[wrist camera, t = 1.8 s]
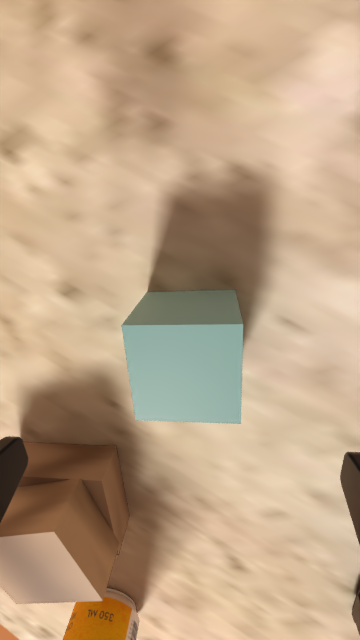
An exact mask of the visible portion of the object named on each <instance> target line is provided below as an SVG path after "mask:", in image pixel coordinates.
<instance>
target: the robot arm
mask: <svg viewBox="0 0 360 640" xmlns="http://www.w3.org/2000/svg"><path fill="white" fill-rule="evenodd" d="M28 460H29V459H28V454H27V451H26V448H25V445H24V442H23V440H22V439H21V438H20V437H10V436H8V437H5V438H3V439H1V440H0V523H1V521H2V519H3V517H4V515H5V513H6V511H7V509H8V507H9V504H10V502H11V500H12V498H13V496H14V494H15V491H16V489H17V487H18V485H19V483H20V481H21V479H22V476H23V474H24V472H25V470H26V468H27V465H28ZM340 479H341V485H342V488H343V492H344V495H345V498H346V501H347V505H348V508H349V511H350V515H351V518H352V521H353V525H354V528H355V531H356V535H357V538H358V541H359V544H360V452H347V453H346V454H345V455H344V460H343V465H342V470H341V475H340ZM352 616H353V620H354V622H355V623H356V625H357V628H358V631H359V634H360V588H359V592H358V595H357V597H356V601H355V604H354V607H353V611H352Z"/></svg>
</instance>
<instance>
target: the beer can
mask: <svg viewBox="0 0 360 640" xmlns="http://www.w3.org/2000/svg"><path fill="white" fill-rule="evenodd" d="M138 626H139V617H138V614H137V612H136V606H135V603H134V601H133V600H132V599H131V598H130V597H129V596H127V595H126V594H124V593H122V592H120V591H118V590H115V589H111V588H106V592H105V595H104V599H103V601H87V602H76V604H75V606H74V609H73V612H72V615H71V618H70V621H69V623H68V626H67V629H66V632H65V635H64V638H63V640H136V636H137V631H138Z"/></svg>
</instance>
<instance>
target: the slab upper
mask: <svg viewBox="0 0 360 640" xmlns="http://www.w3.org/2000/svg"><path fill="white" fill-rule="evenodd" d="M118 546H119V541H118V539H117V538H116V536H115V534H114V533H113V531H112V529H111V528H110V526H109V524H108V523H107V521H106V519H105V518H104V516H103V514H102V513H101V511H100V509H99V508H98V506H97V504H96V503H95V501H94V500H93V498H92V496H91V495H90V493H89V491H88V490H87V488H86V486H85V485H84V483H83V481H82V480H81V478H77V479H70V480H63V481H57V482H50V483H43V484H36V485H30V486H23V487H17V489H16V491H15V494H14V496H13V498H12V500H11V502H10V504H9V507H8V509H7V511H6V513H5V515H4V517H3V519H2V521H1V523H0V586H1V587H2V589H3V590H4V591H5V592H6V593H7V594H8V595H9V596H10V598H11V599H12V600H13V601H14V602H15V603H16V604H31V603H59V602H87V601H103V599H104V595H105V592H106V588H107V585H108V581H109V578H110V574H111V571H112V567H113V564H114V560H115V557H116V553H117V550H118Z"/></svg>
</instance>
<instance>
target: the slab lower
mask: <svg viewBox="0 0 360 640" xmlns="http://www.w3.org/2000/svg"><path fill="white" fill-rule="evenodd" d="M24 445H25V448H26V451H27V454H28V459H29V460H28V465H27V468H26V470H25V472H24V474H23V476H22V479H21V481H20V483H19V485H18V487H23V486H30V485H36V484H43V483H50V482H57V481H63V480H70V479H77V478H81V480H82V481H83V483H84V485H85V486H86V488H87V490H88V491H89V493H90V495H91V496H92V498H93V500H94V501H95V503H96V504H97V506H98V508H99V509H100V511H101V513H102V514H103V516H104V518H105V519H106V521H107V523H108V524H109V526H110V528H111V529H112V531H113V533H114V534H115V536H116V538H117V539H118V541H119V546H118V550H117V553H116V555H119V553H120V549H121V545H122V542H123V538H124V534H125V531H126V527H127V523H128V520H129V516H130V515H129V510H128V505H127V500H126V495H125V490H124V484H123V479H122V474H121V469H120V464H119V459H118V453H117V448H116V446H103V445H79V444H56V443H32V442H24Z"/></svg>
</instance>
